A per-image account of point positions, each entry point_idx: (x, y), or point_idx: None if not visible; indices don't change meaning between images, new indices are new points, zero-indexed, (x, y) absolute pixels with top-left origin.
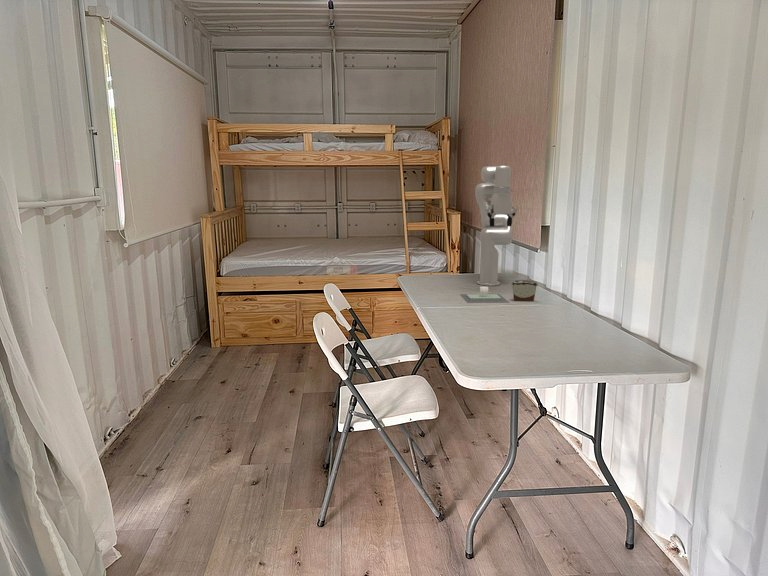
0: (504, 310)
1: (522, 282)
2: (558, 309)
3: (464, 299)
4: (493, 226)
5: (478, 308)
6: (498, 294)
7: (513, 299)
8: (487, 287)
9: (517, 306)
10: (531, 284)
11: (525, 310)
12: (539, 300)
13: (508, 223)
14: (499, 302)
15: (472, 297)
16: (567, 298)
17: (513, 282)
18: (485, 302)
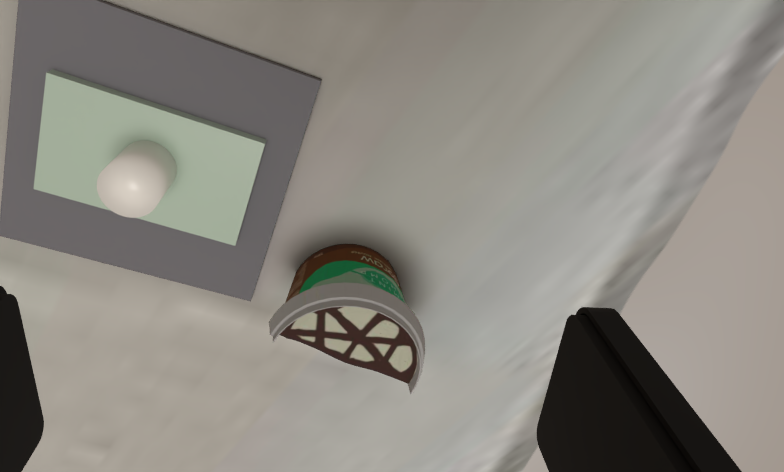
0: (155, 388)
1: (353, 333)
2: (404, 433)
3: (6, 149)
4: (33, 414)
5: (37, 325)
6: (308, 97)
7: (294, 278)
8: (147, 208)
9: (260, 348)
10: (382, 370)
11: (252, 411)
12: (456, 282)
13: (575, 422)
14: (196, 282)
15: (56, 173)
16: (626, 290)
17: (287, 327)
18: (115, 258)
